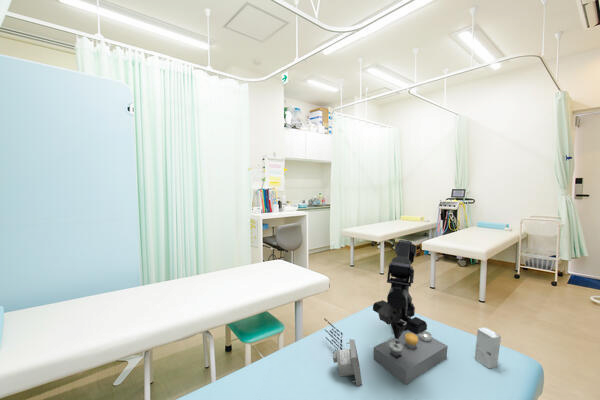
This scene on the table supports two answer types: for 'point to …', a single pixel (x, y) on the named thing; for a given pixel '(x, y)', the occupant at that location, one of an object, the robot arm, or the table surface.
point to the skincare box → (487, 347)
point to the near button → (396, 348)
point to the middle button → (411, 340)
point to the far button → (425, 336)
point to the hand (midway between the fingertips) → (396, 338)
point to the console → (410, 357)
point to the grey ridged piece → (346, 358)
